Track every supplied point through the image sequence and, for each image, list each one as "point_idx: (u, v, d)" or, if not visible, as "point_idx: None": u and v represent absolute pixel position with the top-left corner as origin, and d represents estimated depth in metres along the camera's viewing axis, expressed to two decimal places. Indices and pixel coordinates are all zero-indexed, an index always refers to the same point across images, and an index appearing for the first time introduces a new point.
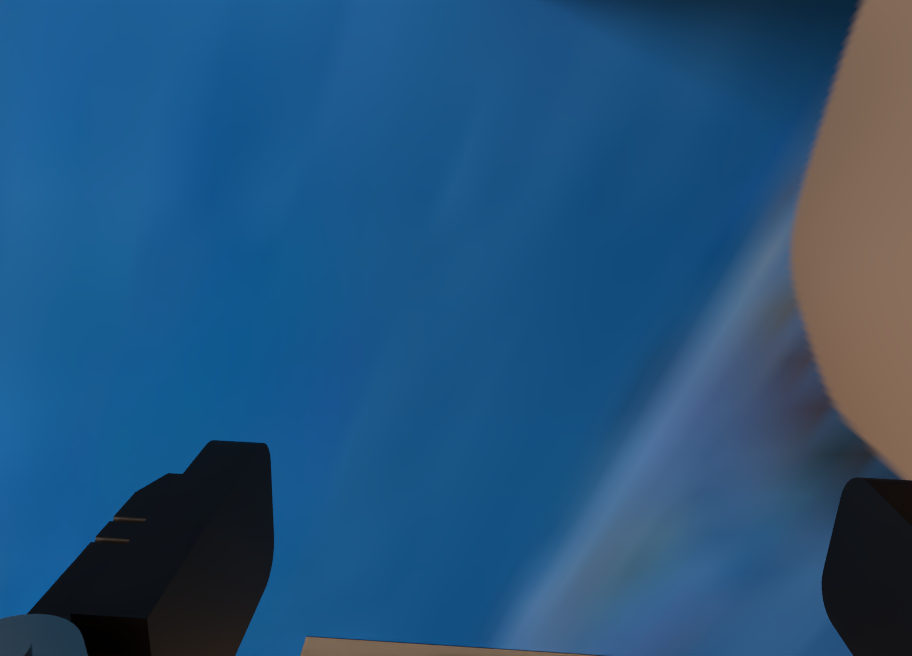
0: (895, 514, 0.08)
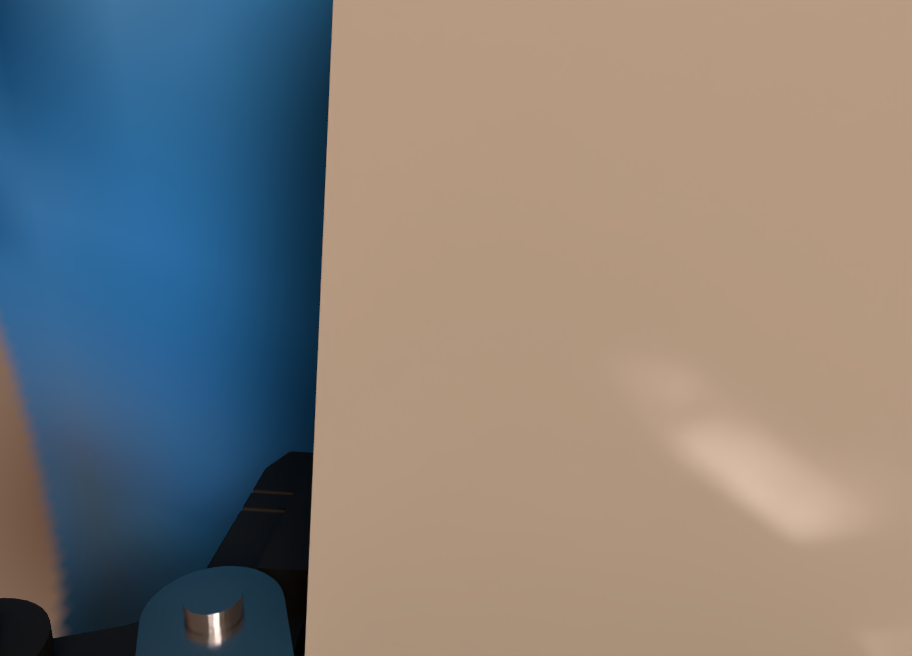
0: None
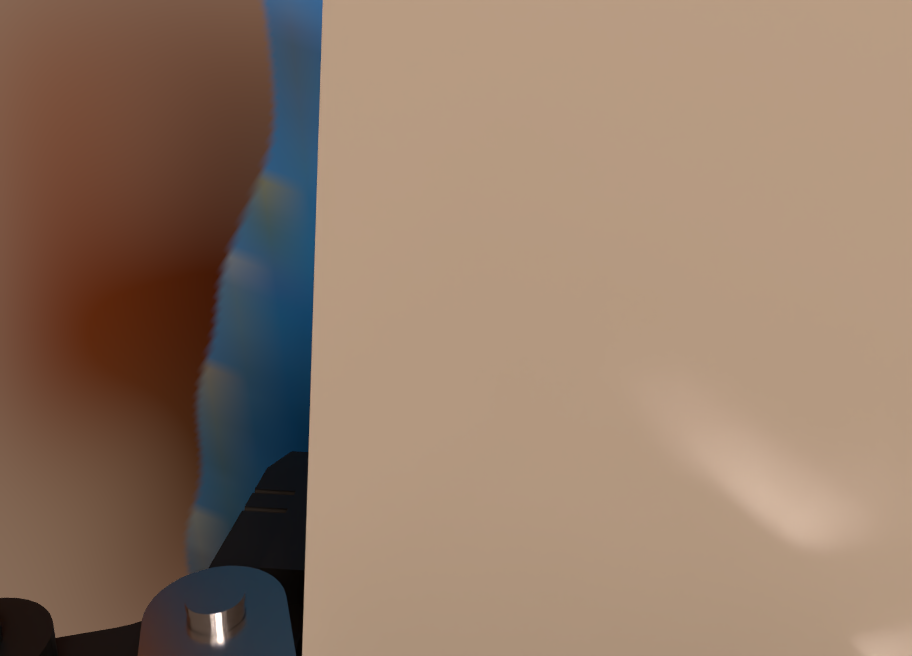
0: None
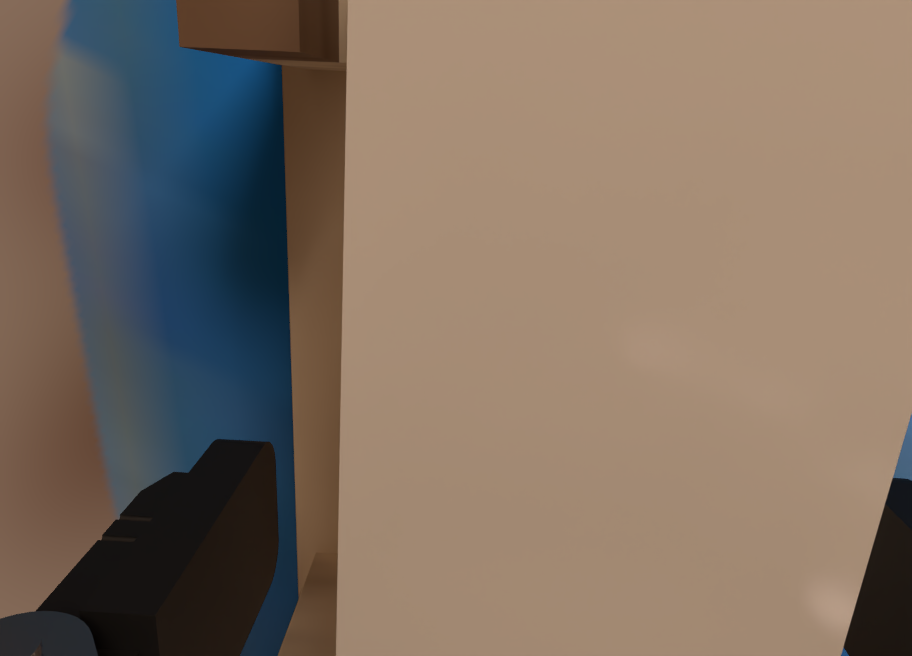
0: (889, 512, 0.08)
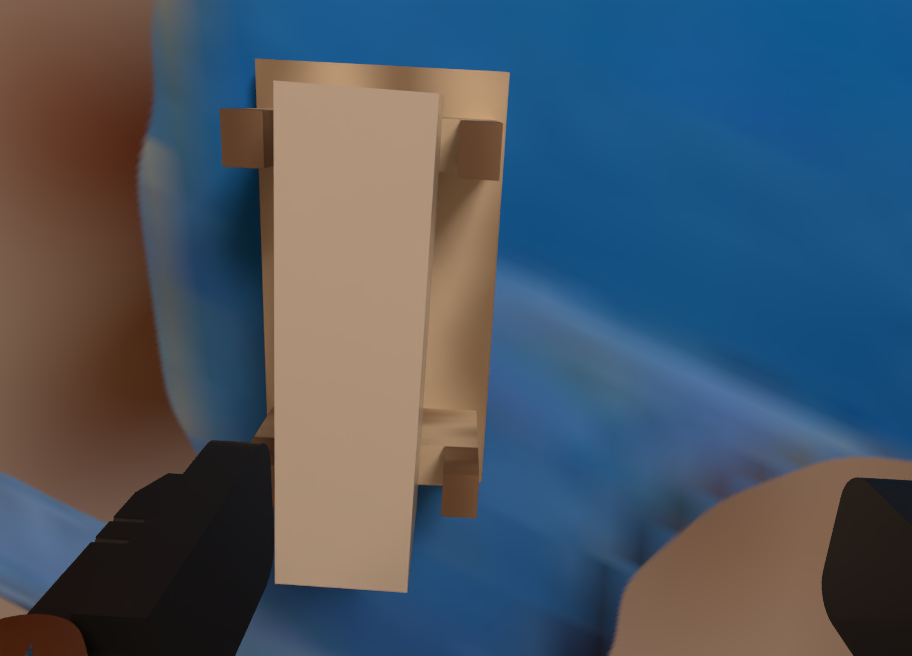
0: (895, 514, 0.08)
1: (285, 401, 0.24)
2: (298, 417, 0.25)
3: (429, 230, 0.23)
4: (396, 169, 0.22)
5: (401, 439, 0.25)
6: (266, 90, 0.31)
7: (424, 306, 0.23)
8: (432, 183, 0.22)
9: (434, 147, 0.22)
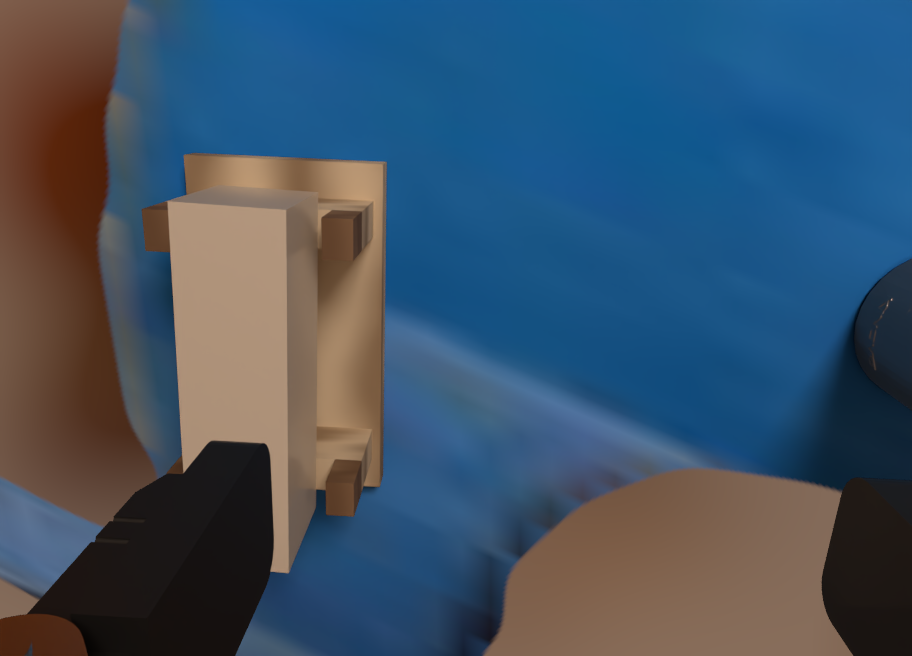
0: (895, 514, 0.08)
1: (188, 428, 0.33)
2: (199, 440, 0.33)
3: (286, 305, 0.31)
4: (258, 262, 0.30)
5: (276, 457, 0.33)
6: (193, 178, 0.39)
7: (286, 360, 0.32)
8: (286, 272, 0.30)
9: (285, 247, 0.30)
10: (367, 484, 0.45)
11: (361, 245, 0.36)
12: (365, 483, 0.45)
